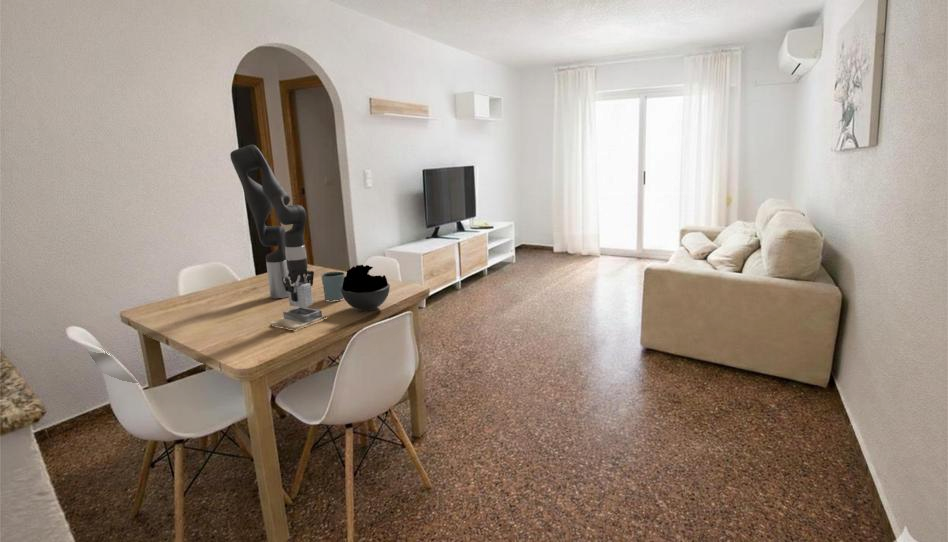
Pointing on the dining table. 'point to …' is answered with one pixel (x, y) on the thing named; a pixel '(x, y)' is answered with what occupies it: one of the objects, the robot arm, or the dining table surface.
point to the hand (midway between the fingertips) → (300, 299)
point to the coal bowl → (364, 288)
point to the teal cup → (333, 285)
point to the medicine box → (302, 295)
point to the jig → (298, 318)
